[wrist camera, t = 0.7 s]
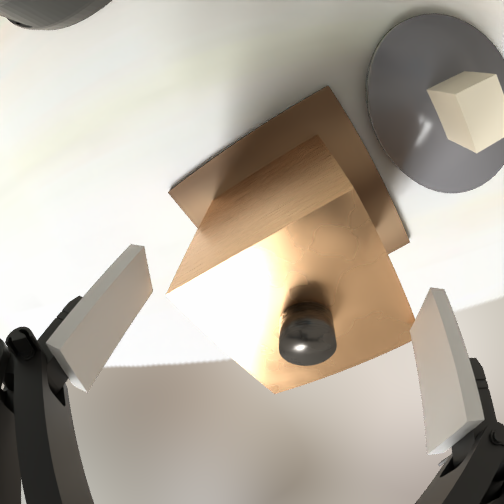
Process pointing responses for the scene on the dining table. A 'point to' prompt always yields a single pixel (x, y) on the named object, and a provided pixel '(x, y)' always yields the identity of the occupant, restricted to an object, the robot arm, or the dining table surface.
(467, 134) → the cake cube
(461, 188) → the plate
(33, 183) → the dining table surface
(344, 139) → the board
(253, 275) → the wooden cube with knob
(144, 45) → the dining table surface
